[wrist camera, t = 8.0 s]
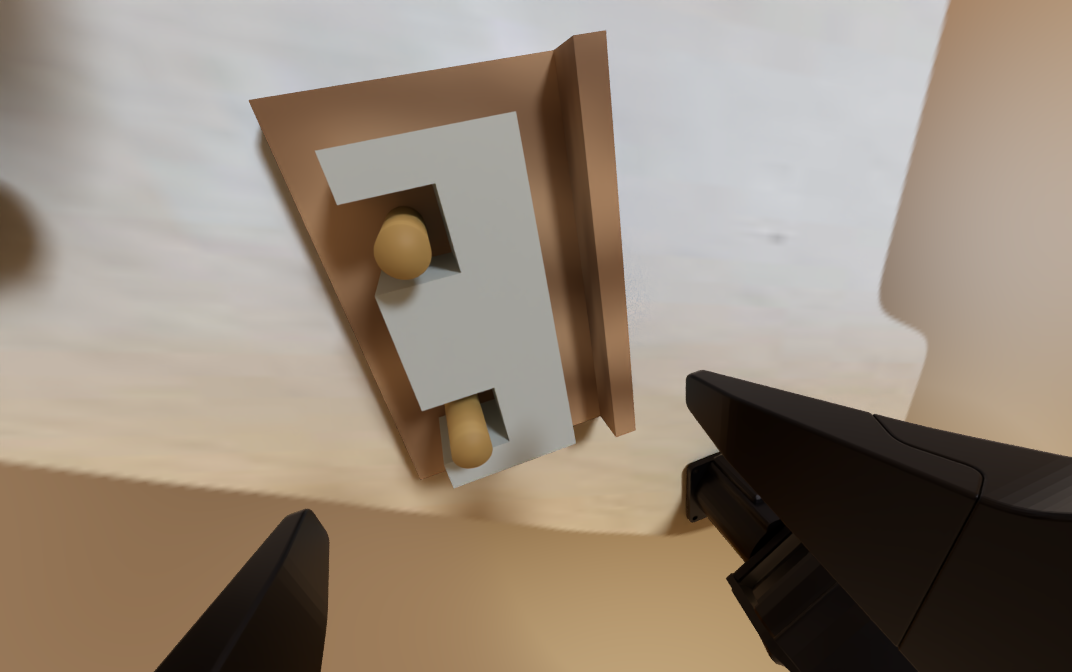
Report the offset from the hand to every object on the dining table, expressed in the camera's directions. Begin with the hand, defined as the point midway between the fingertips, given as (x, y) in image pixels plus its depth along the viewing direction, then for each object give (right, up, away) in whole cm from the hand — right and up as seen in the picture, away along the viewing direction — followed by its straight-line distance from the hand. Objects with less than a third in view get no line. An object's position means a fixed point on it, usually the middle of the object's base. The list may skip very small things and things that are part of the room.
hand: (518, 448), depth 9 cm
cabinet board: (-2, +5, +10) cm, 12 cm away
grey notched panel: (-3, +4, +9) cm, 10 cm away
